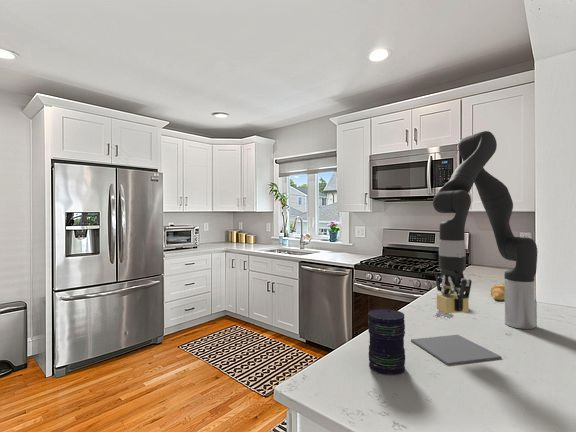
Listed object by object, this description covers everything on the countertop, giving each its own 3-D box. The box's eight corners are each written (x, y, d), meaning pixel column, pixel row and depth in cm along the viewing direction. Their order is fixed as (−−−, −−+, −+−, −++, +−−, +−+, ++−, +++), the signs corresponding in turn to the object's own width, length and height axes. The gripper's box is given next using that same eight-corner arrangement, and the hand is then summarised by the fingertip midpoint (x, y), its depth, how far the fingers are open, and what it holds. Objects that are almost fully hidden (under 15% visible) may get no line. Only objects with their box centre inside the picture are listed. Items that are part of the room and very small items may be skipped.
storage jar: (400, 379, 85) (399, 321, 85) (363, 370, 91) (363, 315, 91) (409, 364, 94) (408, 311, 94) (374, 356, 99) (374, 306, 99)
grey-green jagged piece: (440, 328, 126) (440, 326, 126) (421, 323, 131) (421, 321, 131) (459, 314, 140) (459, 311, 140) (440, 309, 145) (440, 307, 145)
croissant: (502, 309, 156) (511, 296, 153) (481, 296, 163) (489, 283, 160) (514, 300, 171) (522, 288, 168) (494, 288, 177) (502, 276, 174)
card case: (436, 308, 105) (436, 294, 105) (458, 307, 106) (458, 293, 106) (446, 313, 101) (446, 298, 101) (468, 312, 102) (468, 297, 102)
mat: (457, 336, 114) (457, 334, 114) (501, 358, 97) (501, 356, 97) (410, 341, 110) (410, 339, 110) (447, 365, 93) (447, 363, 93)
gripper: (427, 252, 110) (427, 303, 110) (457, 257, 96) (458, 316, 96) (447, 251, 111) (447, 301, 111) (480, 256, 97) (480, 314, 97)
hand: (452, 308), depth 104 cm, fingers closed on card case, 5 cm apart
